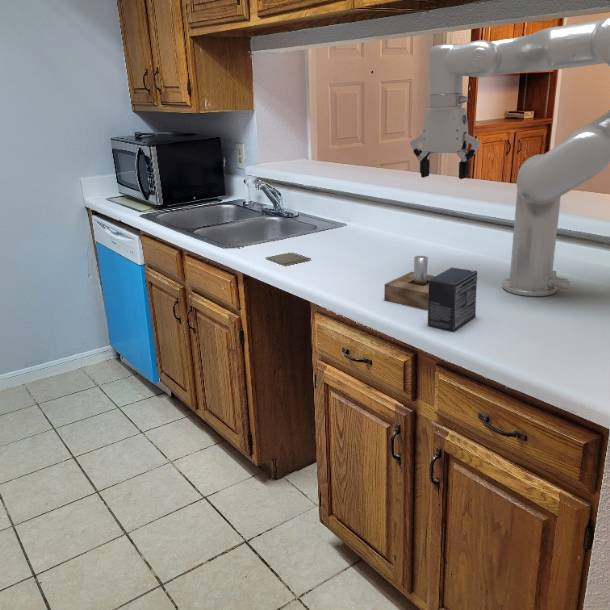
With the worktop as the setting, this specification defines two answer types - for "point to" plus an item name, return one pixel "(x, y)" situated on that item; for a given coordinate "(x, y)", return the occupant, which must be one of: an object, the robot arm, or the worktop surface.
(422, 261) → the pin
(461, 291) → the small box
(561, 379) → the worktop surface
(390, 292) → the socket block
